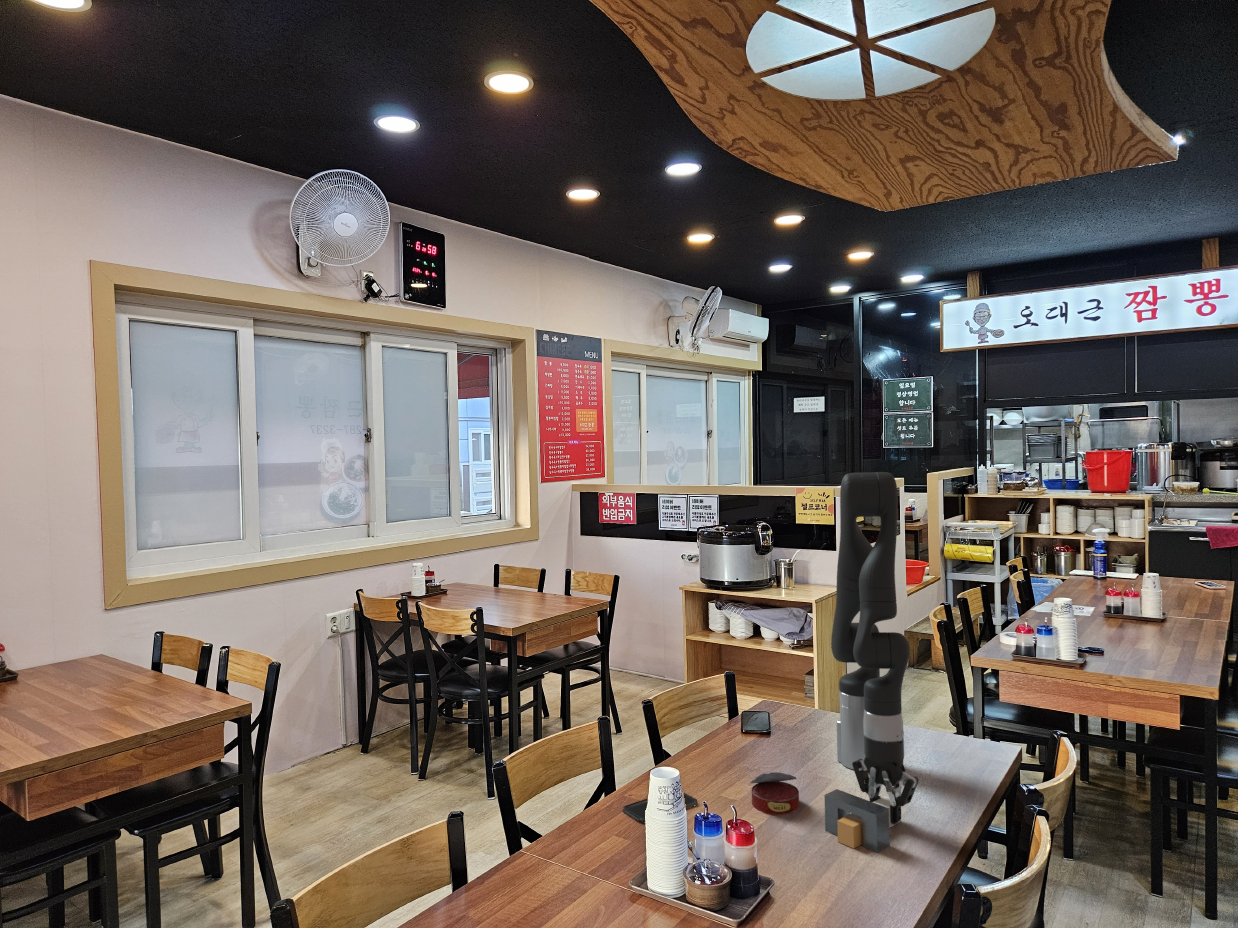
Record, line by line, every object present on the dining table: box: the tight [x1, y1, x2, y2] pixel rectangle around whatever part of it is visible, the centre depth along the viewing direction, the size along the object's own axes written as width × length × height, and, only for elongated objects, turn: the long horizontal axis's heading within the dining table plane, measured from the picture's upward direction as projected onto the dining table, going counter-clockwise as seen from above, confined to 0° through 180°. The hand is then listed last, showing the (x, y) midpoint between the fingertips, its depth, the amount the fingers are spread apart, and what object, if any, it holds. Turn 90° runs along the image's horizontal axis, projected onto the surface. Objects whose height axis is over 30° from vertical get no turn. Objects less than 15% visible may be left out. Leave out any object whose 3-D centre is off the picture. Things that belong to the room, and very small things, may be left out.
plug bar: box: [837, 795, 902, 849], centre depth 153 cm, size 4×16×4 cm, turn 129°
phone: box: [622, 792, 698, 825], centre depth 166 cm, size 8×1×15 cm
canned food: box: [749, 771, 800, 816], centre depth 166 cm, size 11×10×10 cm
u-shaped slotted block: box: [824, 788, 891, 853], centre depth 150 cm, size 12×4×7 cm, turn 39°
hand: (885, 818), depth 156 cm, fingers closed on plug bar, 3 cm apart
